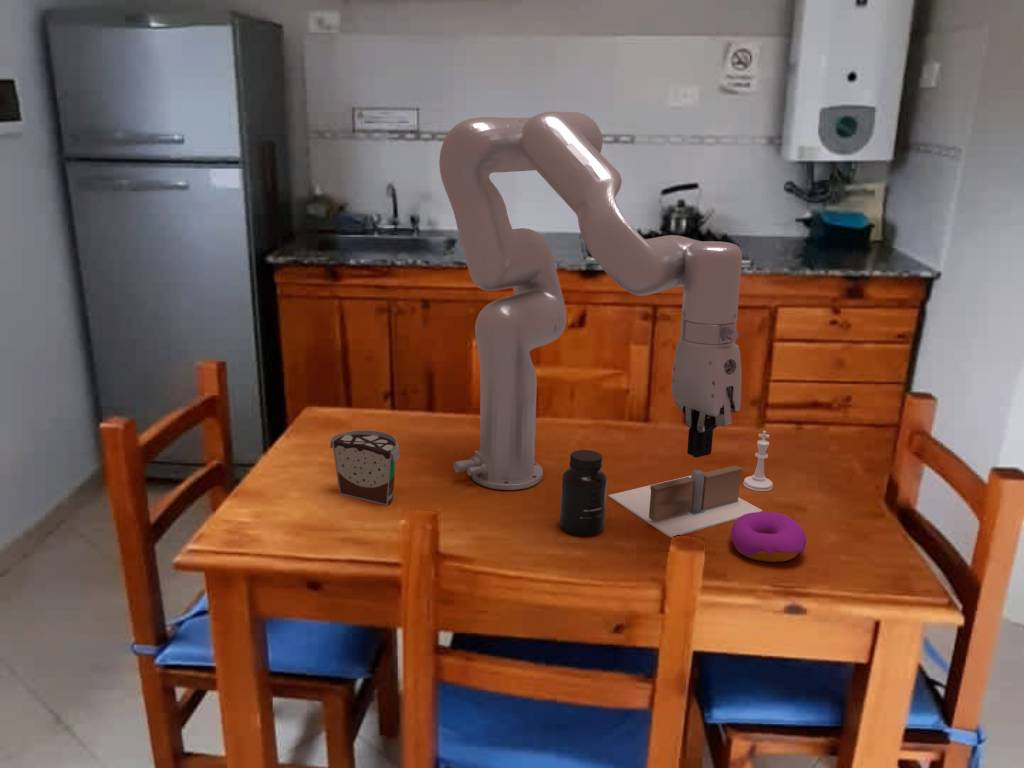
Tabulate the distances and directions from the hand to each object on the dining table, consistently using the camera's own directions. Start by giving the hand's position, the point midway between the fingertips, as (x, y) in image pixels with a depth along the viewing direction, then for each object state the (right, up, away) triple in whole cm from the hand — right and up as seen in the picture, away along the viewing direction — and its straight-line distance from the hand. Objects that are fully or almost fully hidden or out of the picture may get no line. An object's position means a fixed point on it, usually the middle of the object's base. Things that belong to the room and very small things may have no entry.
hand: (699, 454), depth 123 cm
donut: (+10, -15, +2) cm, 18 cm away
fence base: (+1, -10, +15) cm, 18 cm away
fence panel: (-2, -10, +10) cm, 14 cm away
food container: (-50, -8, +17) cm, 54 cm away
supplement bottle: (-16, -12, +7) cm, 22 cm away
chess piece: (+15, -8, +23) cm, 29 cm away
